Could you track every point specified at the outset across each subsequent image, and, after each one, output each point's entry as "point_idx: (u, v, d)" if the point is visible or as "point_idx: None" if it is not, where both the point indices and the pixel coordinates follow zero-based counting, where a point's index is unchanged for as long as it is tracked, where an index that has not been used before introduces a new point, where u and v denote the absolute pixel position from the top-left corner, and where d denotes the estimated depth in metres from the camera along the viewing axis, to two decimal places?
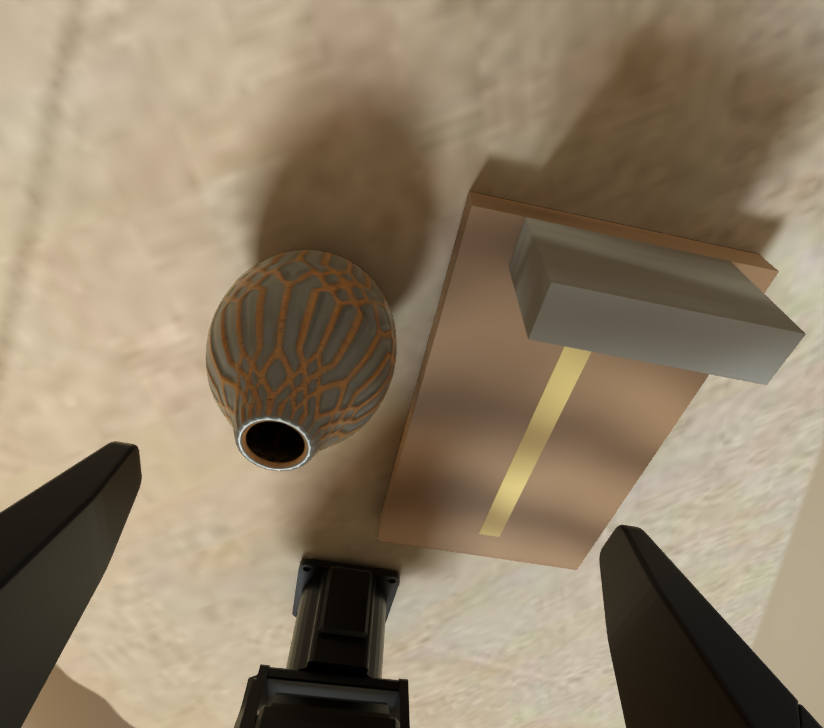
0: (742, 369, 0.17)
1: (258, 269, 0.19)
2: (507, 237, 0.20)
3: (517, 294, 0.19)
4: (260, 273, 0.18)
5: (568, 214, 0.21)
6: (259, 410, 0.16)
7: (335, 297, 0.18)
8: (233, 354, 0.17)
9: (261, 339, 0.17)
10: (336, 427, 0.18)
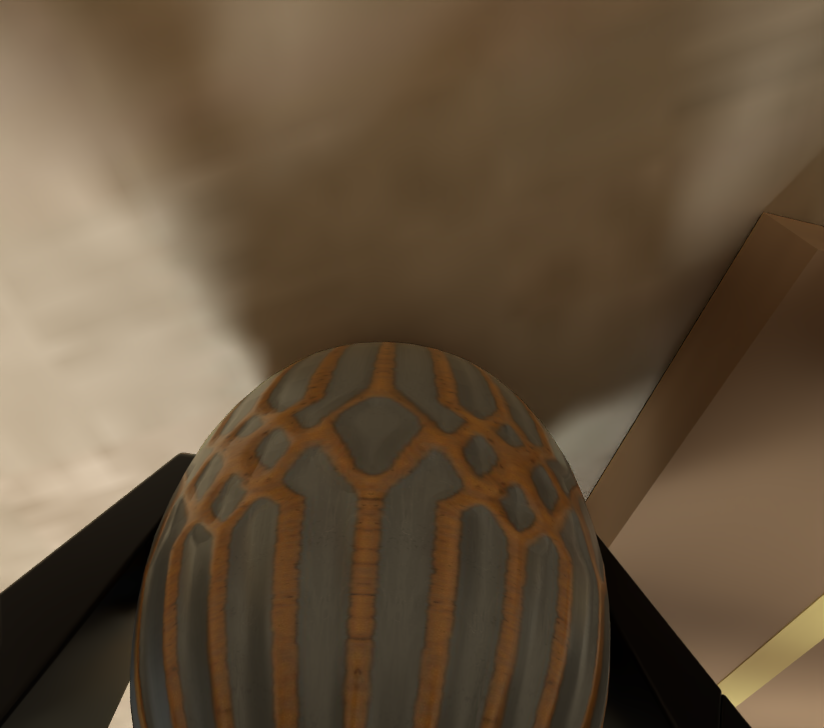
0: None
1: (275, 415, 0.07)
2: None
3: None
4: (282, 433, 0.07)
5: None
6: None
7: (503, 523, 0.06)
8: None
9: (292, 709, 0.05)
10: None
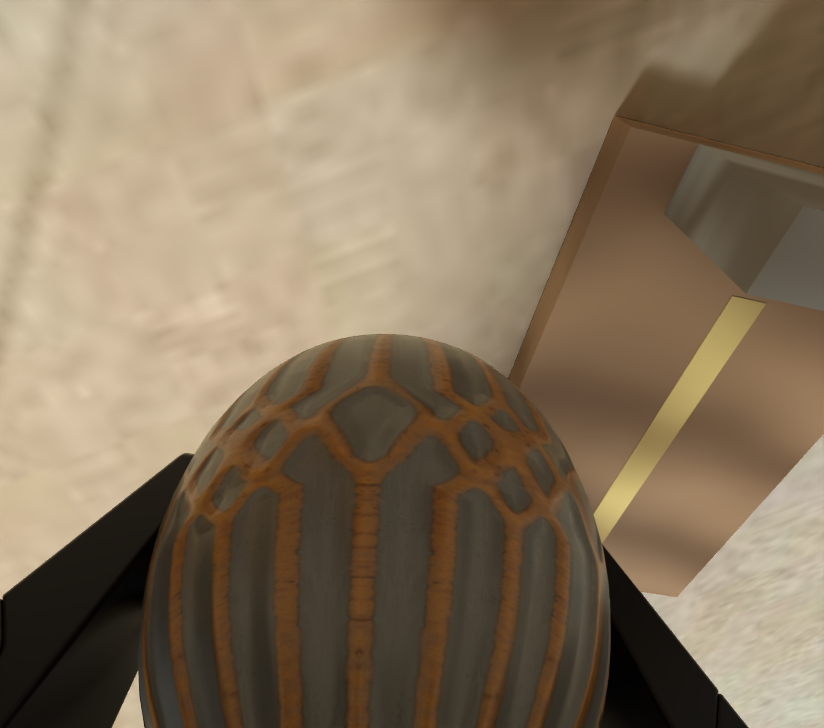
0: None
1: (273, 408, 0.07)
2: (670, 172, 0.15)
3: (698, 241, 0.14)
4: (280, 425, 0.07)
5: (739, 147, 0.16)
6: None
7: (499, 505, 0.06)
8: (205, 723, 0.05)
9: (297, 692, 0.05)
10: None
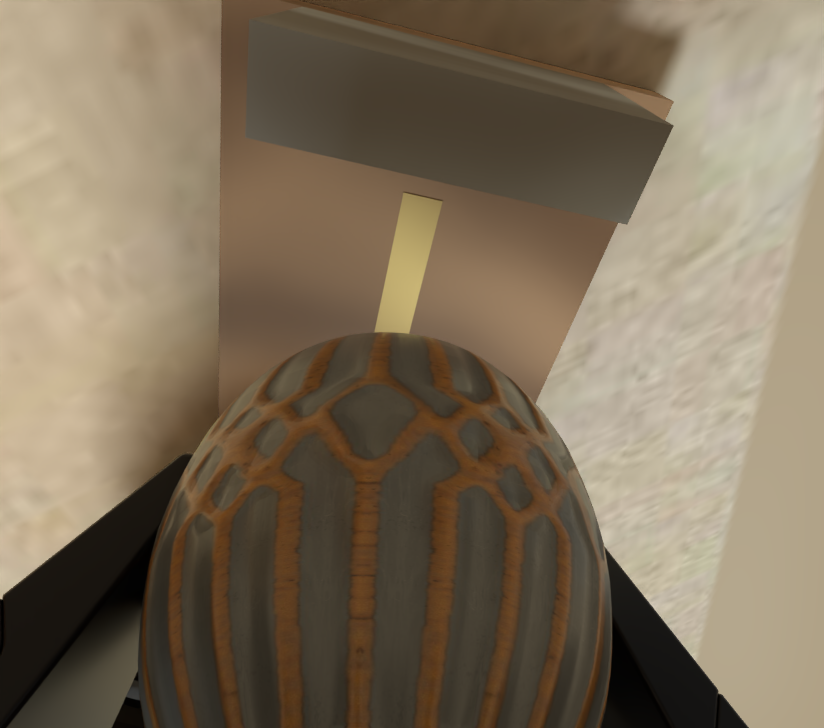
0: (586, 194, 0.11)
1: (273, 406, 0.07)
2: None
3: None
4: (280, 423, 0.07)
5: (381, 22, 0.15)
6: None
7: (500, 503, 0.06)
8: (205, 724, 0.05)
9: (296, 689, 0.05)
10: None
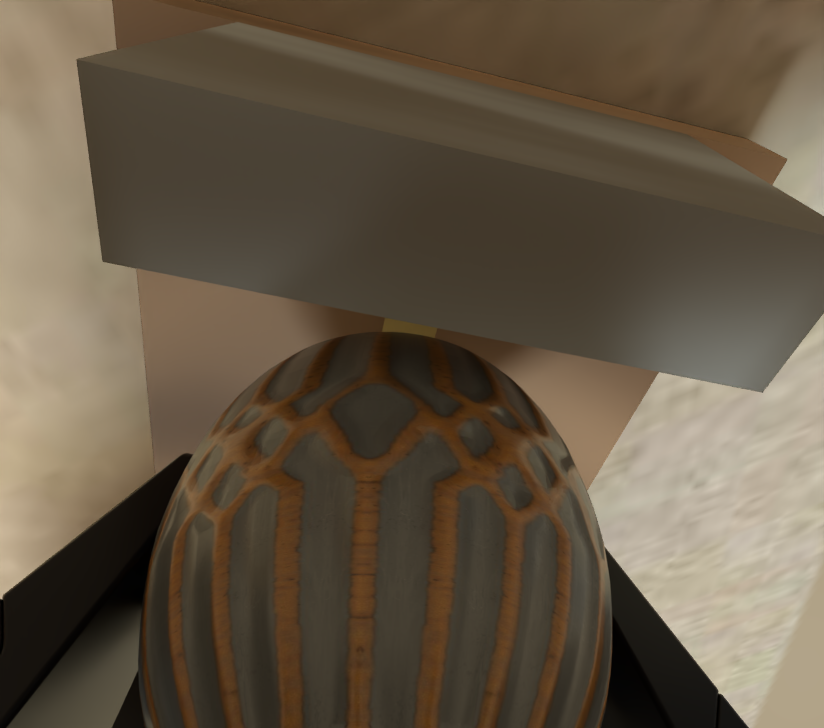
0: (700, 349, 0.06)
1: (273, 405, 0.07)
2: None
3: None
4: (280, 422, 0.07)
5: (360, 42, 0.10)
6: None
7: (500, 501, 0.06)
8: (205, 722, 0.05)
9: (297, 689, 0.05)
10: None
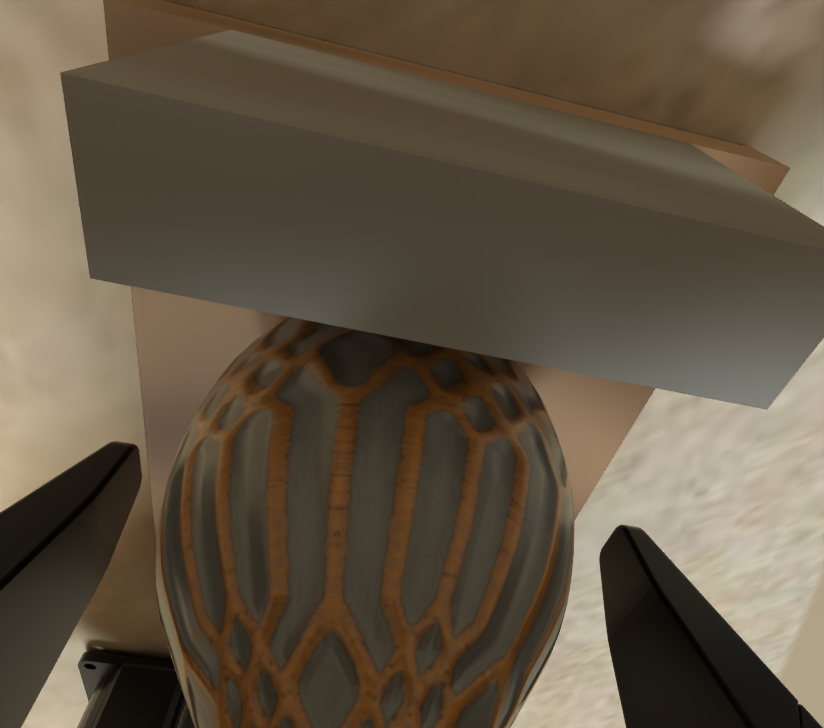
0: (703, 366, 0.06)
1: (272, 349, 0.08)
2: None
3: None
4: (277, 362, 0.08)
5: (356, 50, 0.10)
6: None
7: (464, 424, 0.07)
8: (209, 599, 0.06)
9: (285, 566, 0.06)
10: None
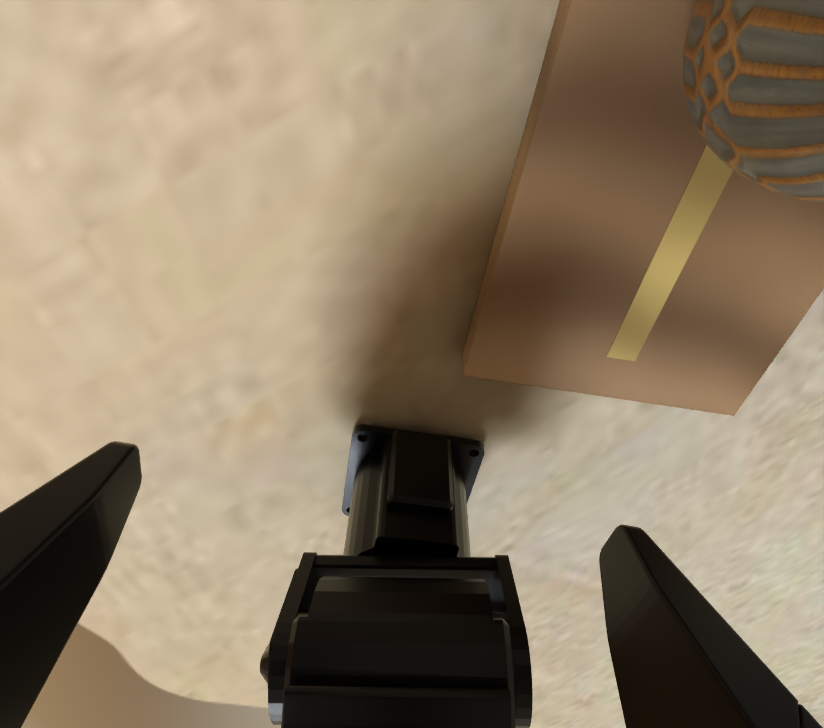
0: None
1: None
2: None
3: None
4: None
5: None
6: None
7: None
8: None
9: None
10: None
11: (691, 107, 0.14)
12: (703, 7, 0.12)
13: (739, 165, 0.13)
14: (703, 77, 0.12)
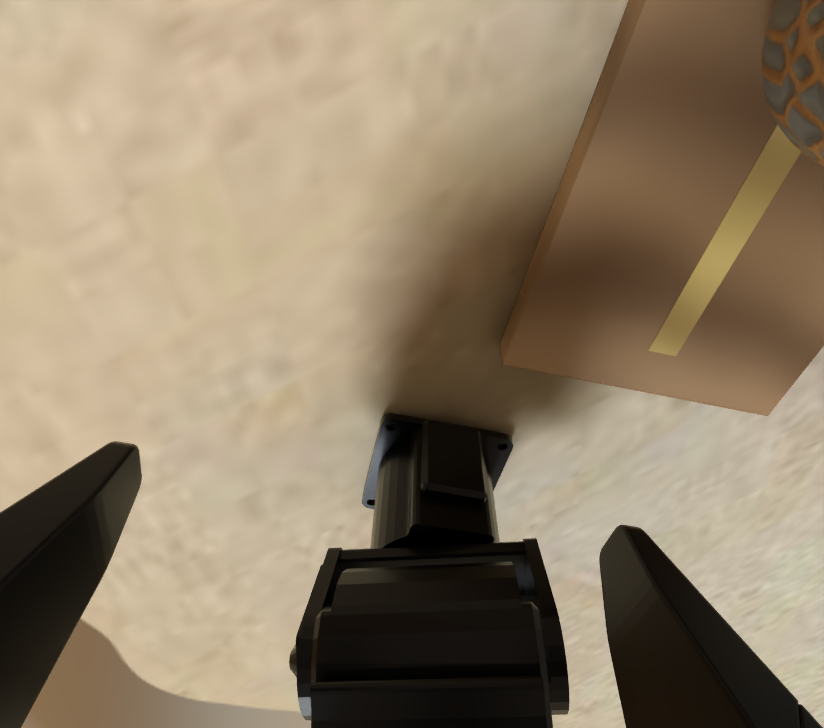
0: None
1: None
2: None
3: None
4: None
5: None
6: None
7: None
8: None
9: None
10: None
11: (774, 92, 0.14)
12: None
13: None
14: (796, 59, 0.12)
